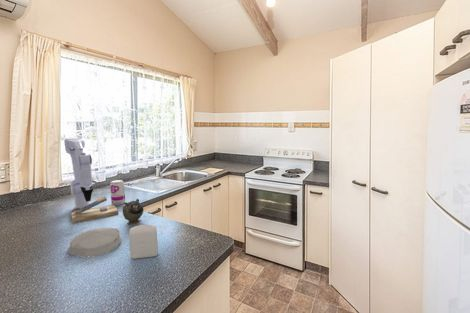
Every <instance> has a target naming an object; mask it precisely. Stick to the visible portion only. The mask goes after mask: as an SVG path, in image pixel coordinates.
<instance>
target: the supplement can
mask: <svg viewBox="0 0 470 313" xmlns="http://www.w3.org/2000/svg"><path fill="white" fill-rule="evenodd" d="M109 190H110V202H111V205H115V206H120V205H124V204H125V203H126V189H125V182H124V181H123V179H115V180H112V181H110V184H109ZM124 202H125V203H124Z"/></svg>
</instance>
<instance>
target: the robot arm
mask: <svg viewBox="0 0 470 313" xmlns="http://www.w3.org/2000/svg"><path fill="white" fill-rule="evenodd" d="M85 144H86V143H85V139H84V138H83V137H76V138H66V137H65V139H64V150H65V152H66V153H67V154H68V155H70V159H71V165H72V170H73V176H74V180H72V181H71V182H70V186H69V187H70V194H71V195H72V196H73V197H74V209H75V208H77V207H80V208H82V207H85V206H87V205H89V204H90V202H91V200H92V194H93V191H94V188H93V185H95V184H96V183H95V182H93V176H92V163H93V158H92V155H91V154H90V153H88V152H87V149H86V148H85V147H86V145H85Z"/></svg>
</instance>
